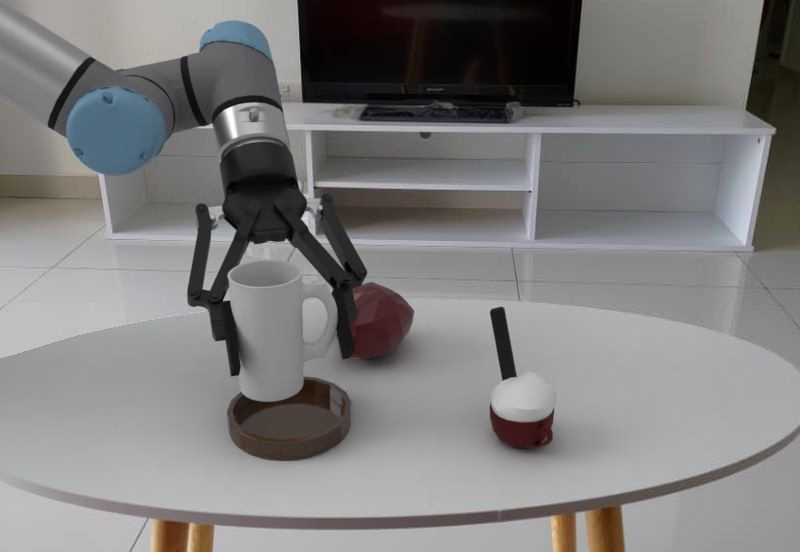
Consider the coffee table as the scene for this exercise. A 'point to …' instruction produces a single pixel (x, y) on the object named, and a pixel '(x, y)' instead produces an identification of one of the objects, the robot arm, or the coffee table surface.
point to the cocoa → (519, 396)
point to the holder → (291, 422)
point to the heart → (379, 320)
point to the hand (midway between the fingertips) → (293, 363)
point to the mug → (275, 327)
